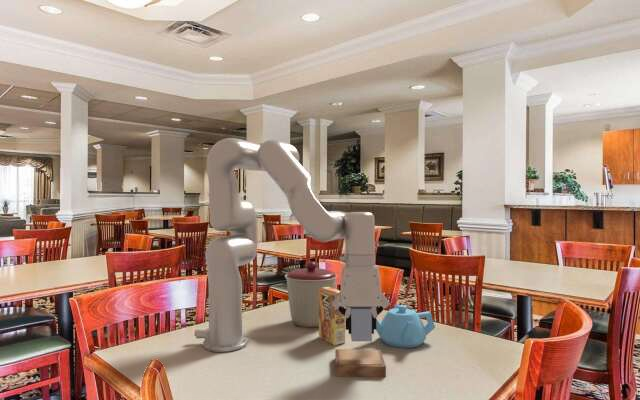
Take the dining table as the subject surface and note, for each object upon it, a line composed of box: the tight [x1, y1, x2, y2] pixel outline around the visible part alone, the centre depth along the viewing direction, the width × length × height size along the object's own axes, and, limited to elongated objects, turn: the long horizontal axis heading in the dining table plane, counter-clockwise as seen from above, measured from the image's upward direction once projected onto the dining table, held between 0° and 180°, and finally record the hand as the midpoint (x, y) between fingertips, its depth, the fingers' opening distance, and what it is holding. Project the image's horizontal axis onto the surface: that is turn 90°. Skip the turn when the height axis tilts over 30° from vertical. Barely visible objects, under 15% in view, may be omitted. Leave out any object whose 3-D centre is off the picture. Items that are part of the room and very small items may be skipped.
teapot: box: [375, 304, 436, 349], centre depth 126 cm, size 15×15×11 cm
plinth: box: [334, 348, 387, 378], centre depth 106 cm, size 12×11×3 cm
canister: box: [284, 261, 339, 328], centre depth 144 cm, size 18×18×21 cm
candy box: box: [318, 287, 346, 346], centre depth 127 cm, size 9×4×15 cm, turn 33°
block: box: [350, 307, 373, 342], centre depth 106 cm, size 5×5×8 cm
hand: (360, 331), depth 106 cm, fingers closed on block, 5 cm apart
